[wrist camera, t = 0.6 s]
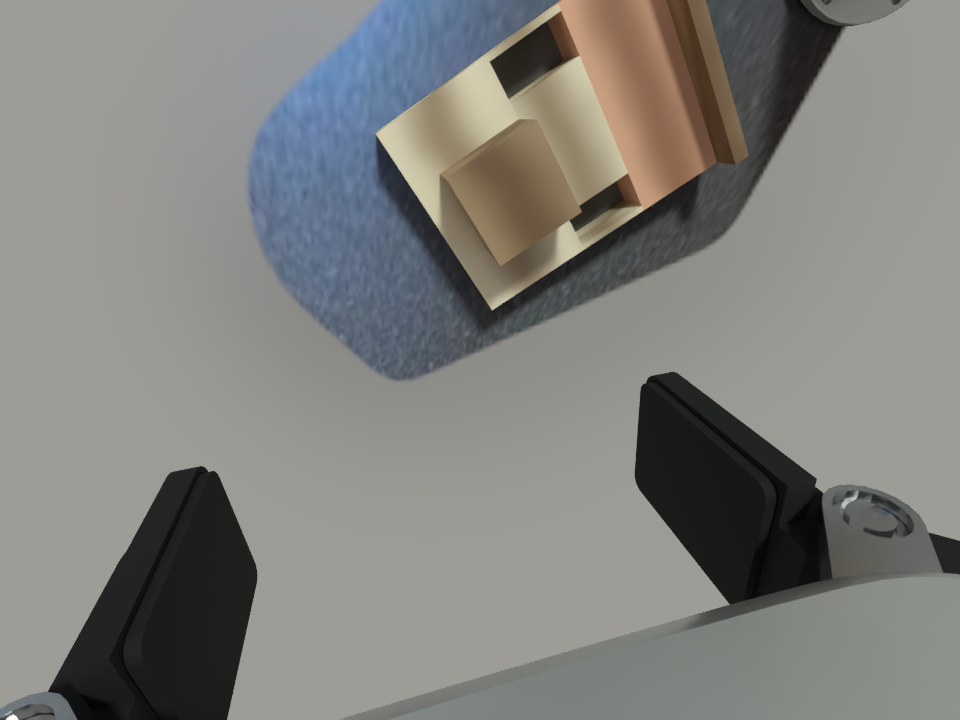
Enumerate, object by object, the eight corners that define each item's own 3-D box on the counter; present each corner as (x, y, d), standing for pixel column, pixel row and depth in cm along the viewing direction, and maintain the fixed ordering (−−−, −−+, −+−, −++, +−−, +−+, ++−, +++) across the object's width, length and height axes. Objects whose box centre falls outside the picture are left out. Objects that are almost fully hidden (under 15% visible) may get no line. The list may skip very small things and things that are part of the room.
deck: (637, -56, 30) (682, -85, 26) (704, 151, 37) (748, 155, 32) (375, 132, 32) (375, 135, 28) (484, 297, 39) (498, 320, 34)
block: (518, 119, 31) (537, 119, 27) (560, 201, 33) (582, 212, 30) (439, 174, 31) (448, 181, 28) (487, 250, 34) (500, 266, 30)
